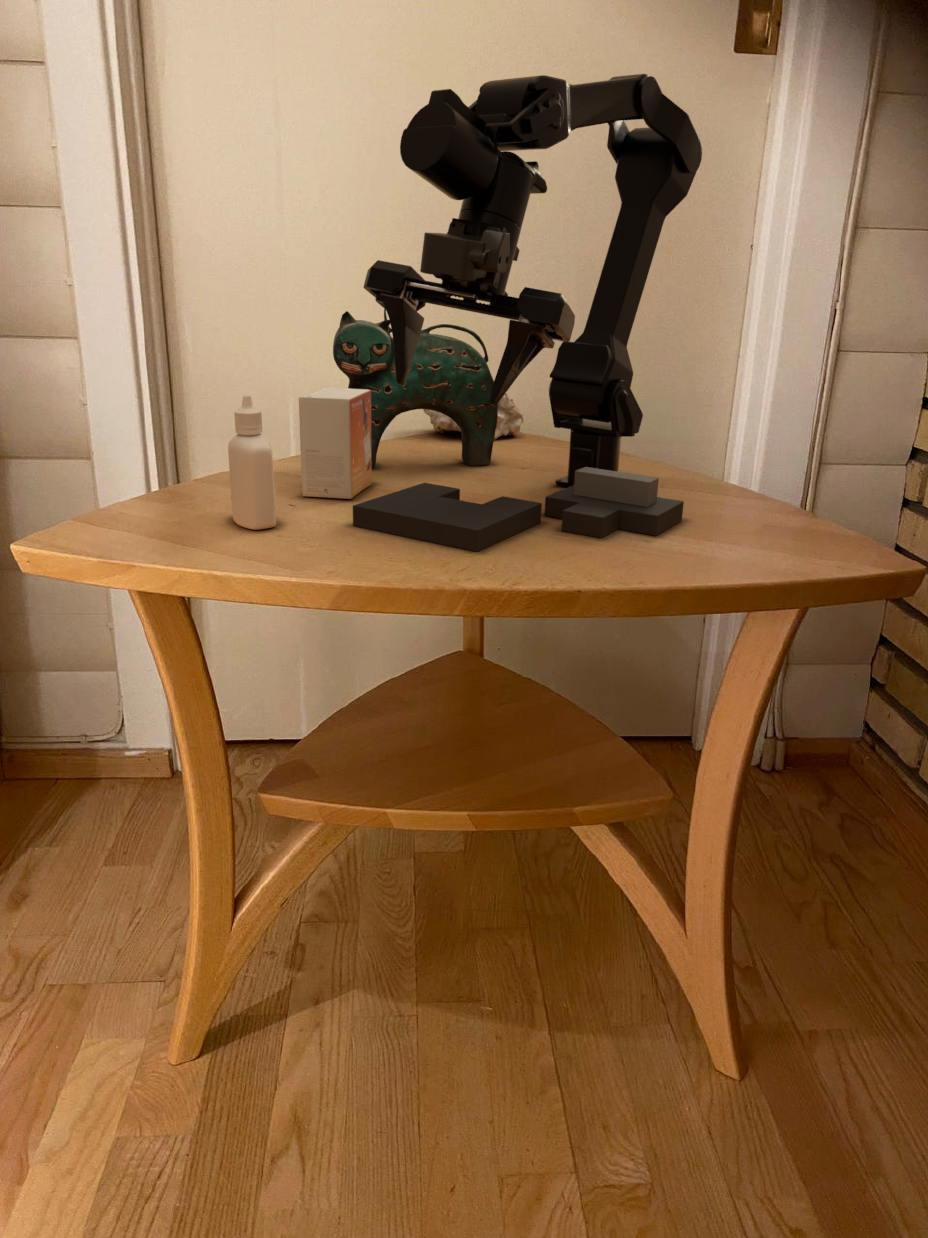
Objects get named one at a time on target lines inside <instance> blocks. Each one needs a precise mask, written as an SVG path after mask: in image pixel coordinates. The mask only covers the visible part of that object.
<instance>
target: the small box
mask: <svg viewBox="0 0 928 1238" xmlns="http://www.w3.org/2000/svg"><path fill="white" fill-rule="evenodd" d="M298 416H299V418H298V419H299V446H300V447H299V448H300V450H299V451H300V473H301V493H302V496H303V497H313V498H328V499H343V500H345V499H346V500H352V499H354V497H356V495H358V494H359V493H360V492H362V491H363V490H365V489H366V488H368V487H370V486H371V485H372V483H373V477H372V475H373V474H372V473H373V471H372V470H373V469H372V468H371V390H366V389H348V387H346V388H345V387H344V388H343V387H329V386H327V387H326V386H325V387H324V386H323V387H322V388H320V389H319V390H316V391H314V392H311V393H308V394H306V395H301V396H299V397H298Z"/></svg>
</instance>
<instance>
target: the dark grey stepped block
mask: <svg viewBox="0 0 928 1238" xmlns="http://www.w3.org/2000/svg"><path fill="white" fill-rule="evenodd" d="M659 481H660V478H659V477H656V476H649V475H642V474H637V473H636V474H635V473H629V472H623V471H618V472H617V471H610V470H603V469H597V468H590V467H584V468H581V469H579V470H576V471H575V480H574V485H573V486H570V487H569V486H567V487H566V488H563V489H560V490H558V491H556V492H553V493H550V494H548V495H546V496H545V498H544V500H545V501H544V513H543V514H544V515H543V516H545V517H549V518H554V519H555V518H556V519H560V520H561V532H567V533H572V534H577V535H581V536H582V535H583V536H588V537H593V538H597V539H598V538H599V539H602V538H604V537H606V536H608V535H610V534H611V533H613V532H615V531H617V530H622V531H626V532H631V533H637V534H643V535H649V536H655V537H656V536H658V535H660V534H661V533H663V532H665V531H666V530H668V529H670V528H671V527H673V526H674V525H676V524H678V523H679V522H681V521H683V513H684V505H685V502H684V500H679V499H672V498H668V497H667V498H666V497H661V496H658V491H659V490H658V489H659V483H660V482H659Z"/></svg>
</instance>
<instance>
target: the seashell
mask: <svg viewBox="0 0 928 1238" xmlns="http://www.w3.org/2000/svg"><path fill="white" fill-rule="evenodd" d="M422 411H423V412H424V414H425V415H427V416H428V417H429V419H430V424H431V425H432V426H433V430H435V431H436V432H438V433H441V434H445V433H446V431H447V432H448V431H449V432H451V431H456V432H459V433H461V429H460V427H459V426H458V425H457V424H456V423H455V422H454V421H453V420H452V419H451V418H449V417H448V416H446V415H444V414H442V413H440V412H437V411H434V410H428V409H422ZM522 424H524V416H523V413H522V412H521V411H520V409H519V408H518V407H517V404H515V402H514V399H513V398H512V399H510V398H509V396H508V393H505V394H504V396H503V397H502V398H501V400H500V401H499V402H498V419H497V426H496V430H495V437H494V440H497V439H498V438H499V437H502V436H505V437H507V435H510V436H511V437H517V435H518V434H519V433H520V432H521V426H522Z"/></svg>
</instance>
